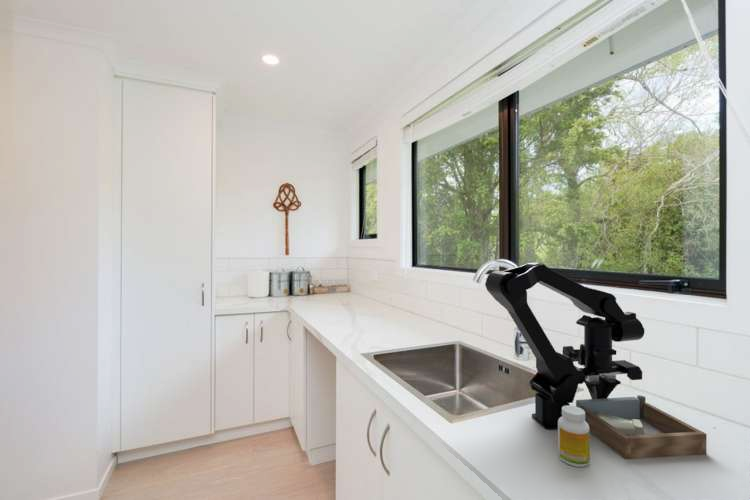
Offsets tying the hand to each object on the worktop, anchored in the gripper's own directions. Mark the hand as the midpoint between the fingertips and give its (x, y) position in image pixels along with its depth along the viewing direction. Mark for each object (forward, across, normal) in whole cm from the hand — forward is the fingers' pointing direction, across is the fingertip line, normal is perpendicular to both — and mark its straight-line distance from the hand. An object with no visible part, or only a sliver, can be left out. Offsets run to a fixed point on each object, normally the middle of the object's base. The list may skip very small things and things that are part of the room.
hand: (597, 406), depth 86 cm
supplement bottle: (+2, +17, +16) cm, 23 cm away
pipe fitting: (+2, +1, +7) cm, 8 cm away
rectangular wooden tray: (+2, -1, +9) cm, 10 cm away
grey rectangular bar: (+2, -1, +2) cm, 3 cm away
